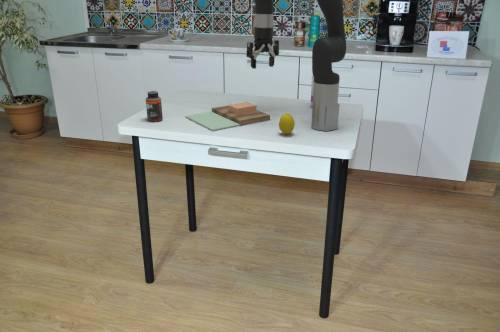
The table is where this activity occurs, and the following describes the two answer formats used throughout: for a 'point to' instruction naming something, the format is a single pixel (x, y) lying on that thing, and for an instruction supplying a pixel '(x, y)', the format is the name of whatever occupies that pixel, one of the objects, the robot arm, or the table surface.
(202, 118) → the mat
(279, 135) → the table surface
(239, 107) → the tile
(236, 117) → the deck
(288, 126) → the lemon
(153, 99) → the supplement bottle
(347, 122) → the table surface
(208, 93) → the table surface
